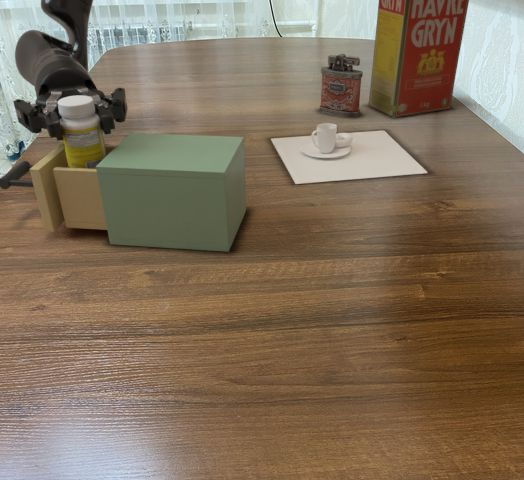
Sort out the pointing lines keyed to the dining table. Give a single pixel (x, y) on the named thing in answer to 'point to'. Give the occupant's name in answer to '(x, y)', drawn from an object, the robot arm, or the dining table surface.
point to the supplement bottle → (81, 132)
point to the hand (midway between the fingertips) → (83, 128)
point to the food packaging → (416, 55)
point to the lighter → (341, 86)
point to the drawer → (62, 191)
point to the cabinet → (174, 191)
